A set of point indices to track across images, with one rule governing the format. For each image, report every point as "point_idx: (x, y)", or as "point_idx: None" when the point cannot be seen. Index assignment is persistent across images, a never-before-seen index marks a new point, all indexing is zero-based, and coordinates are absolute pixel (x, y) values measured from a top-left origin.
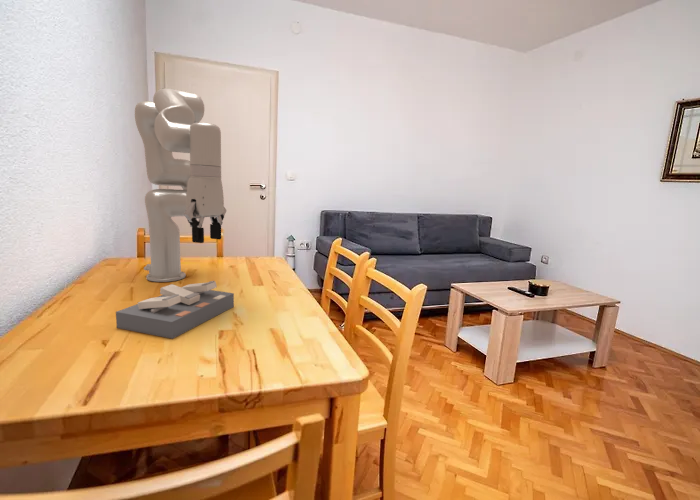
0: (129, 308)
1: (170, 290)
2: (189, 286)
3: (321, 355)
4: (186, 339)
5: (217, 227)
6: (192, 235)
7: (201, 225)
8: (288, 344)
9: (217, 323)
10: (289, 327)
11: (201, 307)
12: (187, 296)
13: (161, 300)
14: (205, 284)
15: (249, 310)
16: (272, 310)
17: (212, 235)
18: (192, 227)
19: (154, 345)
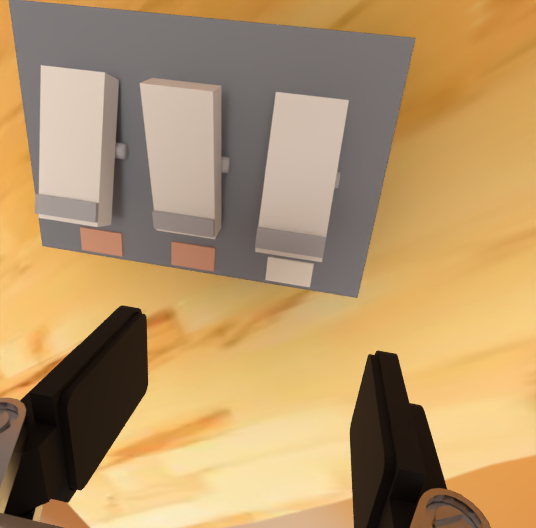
0: (55, 21)
1: (155, 132)
2: (278, 148)
3: (145, 503)
4: (92, 259)
5: (360, 519)
6: (93, 336)
7: (31, 514)
8: (162, 454)
9: (208, 284)
10: (246, 444)
11: (171, 264)
12: (158, 219)
13: (41, 187)
14: (256, 247)
15: (338, 328)
16: (356, 387)
17: (364, 392)
18: (36, 394)
19: (33, 207)
